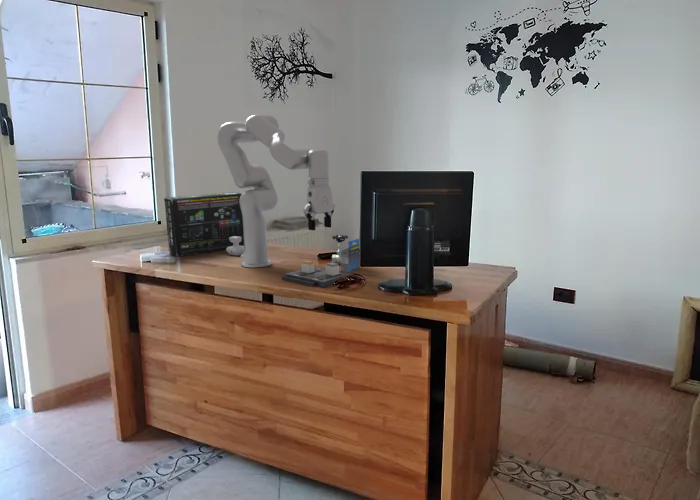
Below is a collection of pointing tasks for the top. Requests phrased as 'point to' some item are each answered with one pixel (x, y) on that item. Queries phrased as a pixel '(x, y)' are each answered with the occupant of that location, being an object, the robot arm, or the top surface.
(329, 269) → the grey-capped toggle
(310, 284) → the dark grey bar
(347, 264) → the label tape box
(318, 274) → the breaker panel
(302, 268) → the orange-capped toggle
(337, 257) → the valve
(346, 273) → the back cord
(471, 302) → the top surface
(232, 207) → the router box
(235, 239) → the stamp
